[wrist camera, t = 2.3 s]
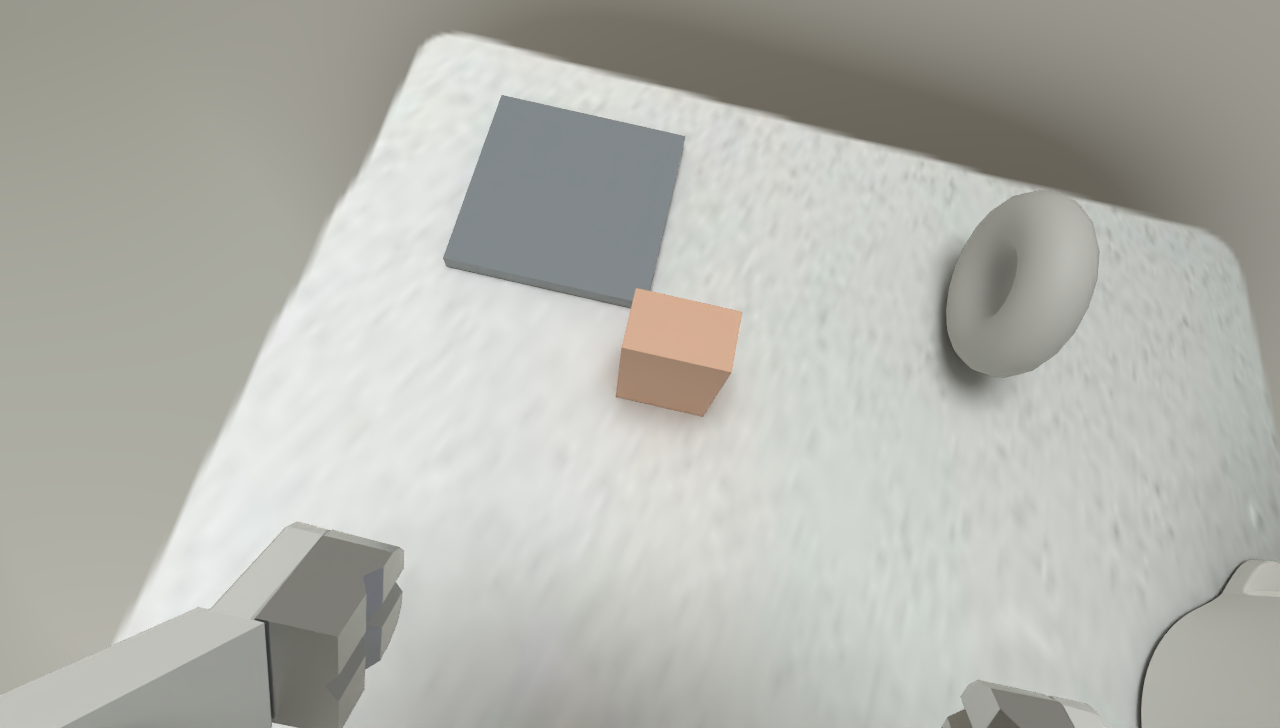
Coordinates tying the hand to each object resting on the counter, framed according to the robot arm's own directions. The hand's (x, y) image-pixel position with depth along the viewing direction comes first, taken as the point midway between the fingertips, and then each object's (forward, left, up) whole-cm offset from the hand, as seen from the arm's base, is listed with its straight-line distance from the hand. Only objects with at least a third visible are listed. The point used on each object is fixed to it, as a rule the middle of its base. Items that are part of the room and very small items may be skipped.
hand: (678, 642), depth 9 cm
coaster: (+8, -22, -25) cm, 34 cm away
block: (0, -12, -25) cm, 28 cm away
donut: (-17, -20, -25) cm, 36 cm away
